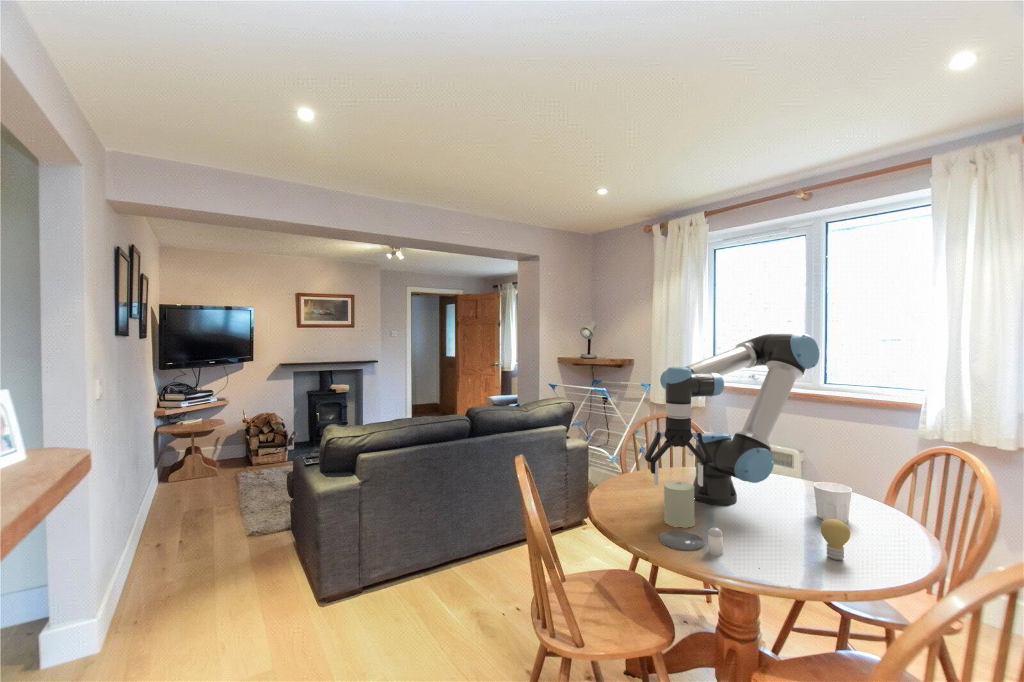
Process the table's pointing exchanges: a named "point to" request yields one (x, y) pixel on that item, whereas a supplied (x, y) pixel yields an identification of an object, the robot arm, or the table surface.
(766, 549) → the table surface
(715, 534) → the salt shaker
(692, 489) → the can
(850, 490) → the cup
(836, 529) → the light bulb
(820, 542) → the table surface
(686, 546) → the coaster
